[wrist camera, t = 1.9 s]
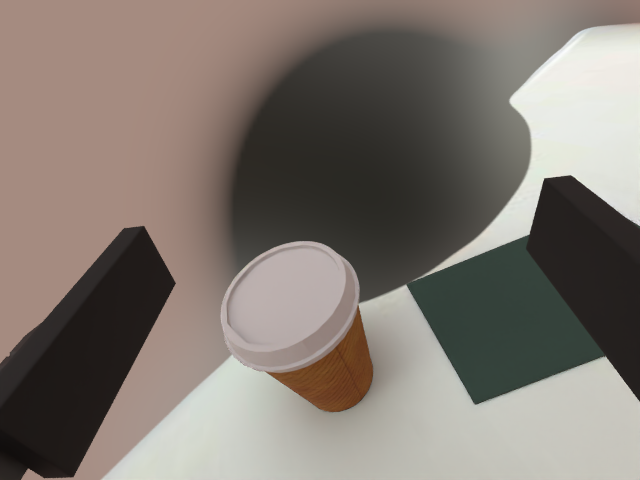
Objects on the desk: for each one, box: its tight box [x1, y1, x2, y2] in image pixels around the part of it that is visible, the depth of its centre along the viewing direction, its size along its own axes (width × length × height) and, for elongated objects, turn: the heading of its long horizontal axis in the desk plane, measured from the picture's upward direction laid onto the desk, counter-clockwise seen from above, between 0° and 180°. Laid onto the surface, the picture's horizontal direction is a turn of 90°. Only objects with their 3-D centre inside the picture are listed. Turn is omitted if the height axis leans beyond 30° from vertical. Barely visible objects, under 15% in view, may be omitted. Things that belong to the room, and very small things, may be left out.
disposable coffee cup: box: [220, 241, 373, 412], centre depth 25 cm, size 10×10×12 cm
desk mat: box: [407, 219, 640, 404], centre depth 28 cm, size 20×12×1 cm, turn 102°
